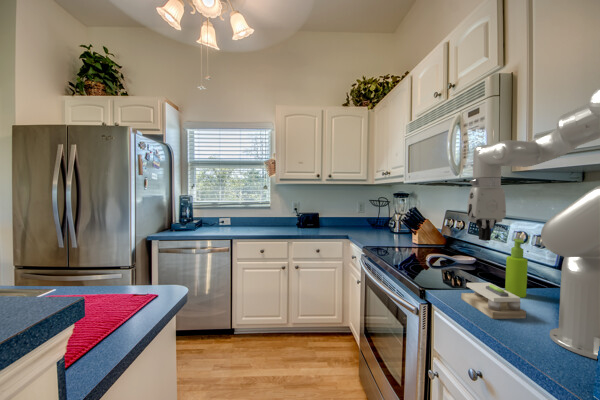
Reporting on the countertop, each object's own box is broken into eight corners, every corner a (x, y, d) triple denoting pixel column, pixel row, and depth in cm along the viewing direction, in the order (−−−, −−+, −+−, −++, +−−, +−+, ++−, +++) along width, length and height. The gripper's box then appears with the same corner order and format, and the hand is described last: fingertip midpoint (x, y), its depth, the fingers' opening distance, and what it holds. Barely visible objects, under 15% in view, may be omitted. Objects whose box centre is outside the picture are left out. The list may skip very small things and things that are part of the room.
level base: (525, 318, 78) (526, 303, 78) (492, 318, 78) (493, 303, 78) (489, 298, 92) (490, 285, 92) (461, 298, 92) (461, 286, 91)
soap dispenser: (507, 296, 94) (509, 239, 93) (503, 290, 100) (505, 236, 99) (529, 300, 91) (531, 241, 90) (523, 293, 97) (526, 238, 97)
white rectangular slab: (520, 301, 79) (520, 292, 79) (493, 301, 79) (494, 292, 78) (489, 286, 91) (489, 277, 91) (466, 286, 91) (466, 278, 90)
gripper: (471, 183, 83) (470, 242, 84) (518, 183, 84) (516, 242, 85) (456, 183, 91) (455, 238, 91) (499, 184, 91) (497, 237, 92)
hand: (484, 239), depth 88 cm, fingers closed
